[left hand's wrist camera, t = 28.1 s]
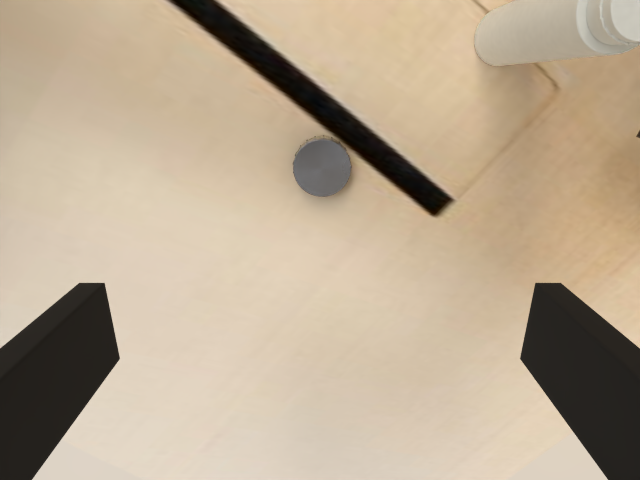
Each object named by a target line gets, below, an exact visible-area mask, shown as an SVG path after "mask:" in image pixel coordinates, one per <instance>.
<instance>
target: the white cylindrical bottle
mask: <svg viewBox="0 0 640 480" xmlns="http://www.w3.org/2000/svg"><path fill="white" fill-rule="evenodd" d="M474 44H475V49H476V52H477V54H478V56H479V57H480V59H481V60H482V61H484V62H485V63H487V64H489V65H492V66H505V65H515V64H526V63H536V62H546V61H557V60H567V59H577V58H587V57H598V56H608V55H617V54H622V53H625V52H628V51H630V50H632V49H634V48H635V47H637V46H638V45H640V0H514V1H512V2H509V3H507V4H505V5H502V6H500V7H498V8H495V9H493V10H491V11H490V12H489V13H487V14H486V15H485V16H484V17H483V18H482V20H481V21H480V23H479V24H478V26H477V29H476V32H475V37H474Z"/></svg>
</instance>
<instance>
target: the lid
mask: <svg viewBox="0 0 640 480" xmlns="http://www.w3.org/2000/svg"><path fill="white" fill-rule="evenodd" d="M295 156H296V157H295V160H294V162H293V173H294V176H295V179H296V181H297V183H298V184H299V186H300V187H301V188H302V189H303V190H304V191H306V192H307V193H309V194H311V195H315V196H329V195H332V194H335V193H337V192H338V191H340V190H341V189H342V188H343V187H344V186H345V184H346V183H347V181H348V179H349V176H350V172H351V164H350V157H349V155H348V154H347V152H346V148H344V147H343V146H342V145H341V144H340V142H338V141H336V140H335V139H333V138H332V137H331V138H330V137H325V136H320V137H316V136H315V137H314V138H312V139H309V140H306V142H305V143H304V144H303V145H300V148H299V150H298V151H297V152H296V154H295Z"/></svg>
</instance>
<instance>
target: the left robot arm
mask: <svg viewBox="0 0 640 480" xmlns="http://www.w3.org/2000/svg"><path fill="white" fill-rule="evenodd" d="M119 359H120V357H119V352H118V347H117V342H116V337H115V332H114V328H113V323H112V318H111V313H110V308H109V303H108V298H107V293H106V288H105V283H79V284H78V285H76V286H75V287H74V288H73V289H72V290H70V291H69V292H68V293H67V294H66V295H64V296H63V297H62V298H61V299H60V300H58V301H57V302H56V303H55V304H53V305H52V306H51V307H50V308H49V309H47V310H46V311H45V312H44V313H43V314H41V315H40V316H39V317H38V318H37V319H35V320H34V321H33V322H32V323H31V324H29V325H28V326H27V327H26V328H25V329H23V330H22V331H21V332H20V333H18V334H17V335H16V336H15V337H14V338H12V339H11V340H10V341H9V342H8V343H6V344H5V345H4V346H3V347H2V348H0V480H32V479H33V477H34V476H35V475H36V473H37V472H38V470H39V469H40V468H41V466H42V465H43V464H44V462H45V461H46V459H47V458H48V457H49V455H50V454H51V453H52V451H53V450H54V448H55V447H56V446H57V444H58V443H59V442H60V440H61V439H62V437H63V436H64V435H65V433H66V432H67V431H68V429H69V428H70V426H71V425H72V424H73V422H74V421H75V420H76V418H77V417H78V415H79V414H80V413H81V411H82V410H83V409H84V407H85V406H86V405H87V403H88V402H89V400H90V399H91V398H92V396H93V395H94V394H95V392H96V391H97V389H98V388H99V387H100V385H101V384H102V383H103V381H104V380H105V378H106V377H107V376H108V374H109V373H110V372H111V370H112V369H113V367H114V366H115V365H116V363H117V362H118V361H119ZM520 359H521V361H522V362H523V363H524V365H525V366H526V367H527V369H528V370H529V372H530V373H531V374H532V376H533V377H534V378H535V380H536V381H537V383H538V384H539V385H540V387H541V388H542V389H543V391H544V392H545V394H546V395H547V396H548V398H549V399H550V400H551V402H552V403H553V405H554V406H555V407H556V409H557V410H558V411H559V413H560V414H561V416H562V417H563V418H564V420H565V421H566V422H567V424H568V425H569V426H570V428H571V429H572V431H573V432H574V433H575V435H576V436H577V437H578V439H579V440H580V442H581V443H582V444H583V446H584V447H585V448H586V450H587V451H588V453H589V454H590V455H591V457H592V458H593V459H594V461H595V462H596V463H597V465H598V466H599V468H600V469H601V470H602V472H603V473H604V475H605V476H606V477H607V479H608V480H640V348H638V347H637V346H636V345H635V344H634V343H632V342H631V341H630V340H629V339H628V338H626V337H625V336H624V335H623V334H622V333H620V332H619V331H618V330H617V329H615V328H614V327H613V326H612V325H611V324H609V323H608V322H607V321H606V320H605V319H603V318H602V317H601V316H600V315H599V314H597V313H596V312H595V311H594V310H593V309H591V308H590V307H589V306H588V305H587V304H585V303H584V302H583V301H582V300H580V299H579V298H578V297H577V296H576V295H574V294H573V293H572V292H571V291H570V290H568V289H567V288H566V287H565V286H564V285H562V284H561V283H535V288H534V293H533V298H532V303H531V308H530V313H529V318H528V323H527V328H526V332H525V337H524V342H523V347H522V352H521V357H520Z"/></svg>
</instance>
